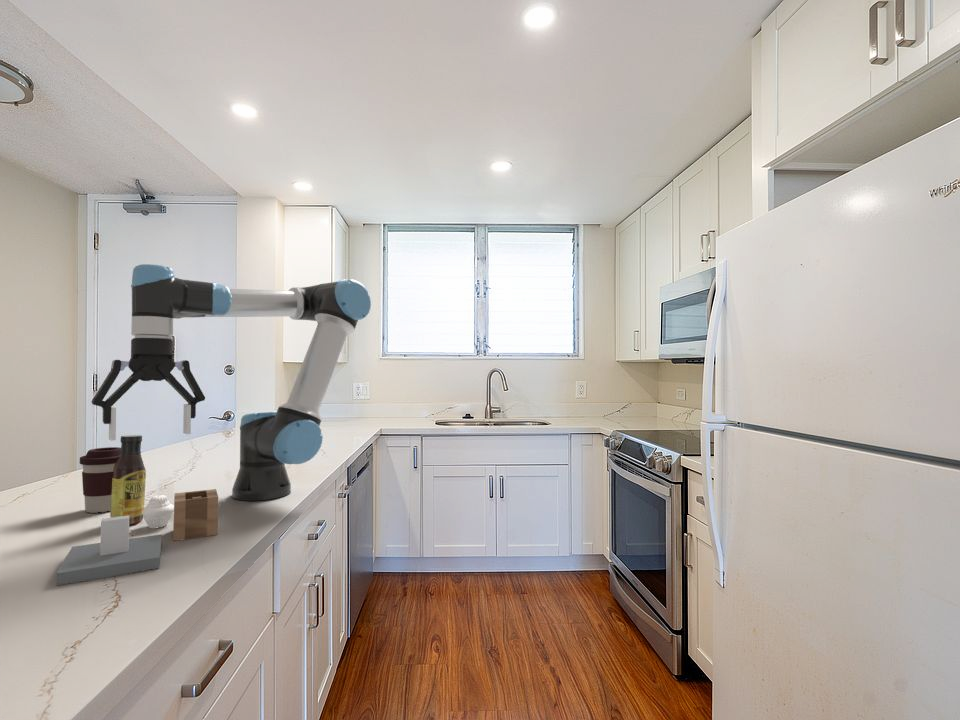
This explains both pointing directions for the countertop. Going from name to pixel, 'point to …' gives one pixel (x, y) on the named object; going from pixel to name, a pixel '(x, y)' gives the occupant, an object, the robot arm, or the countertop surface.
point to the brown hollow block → (195, 514)
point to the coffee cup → (98, 478)
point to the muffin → (158, 511)
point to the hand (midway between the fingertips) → (151, 436)
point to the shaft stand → (111, 554)
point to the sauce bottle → (129, 481)
